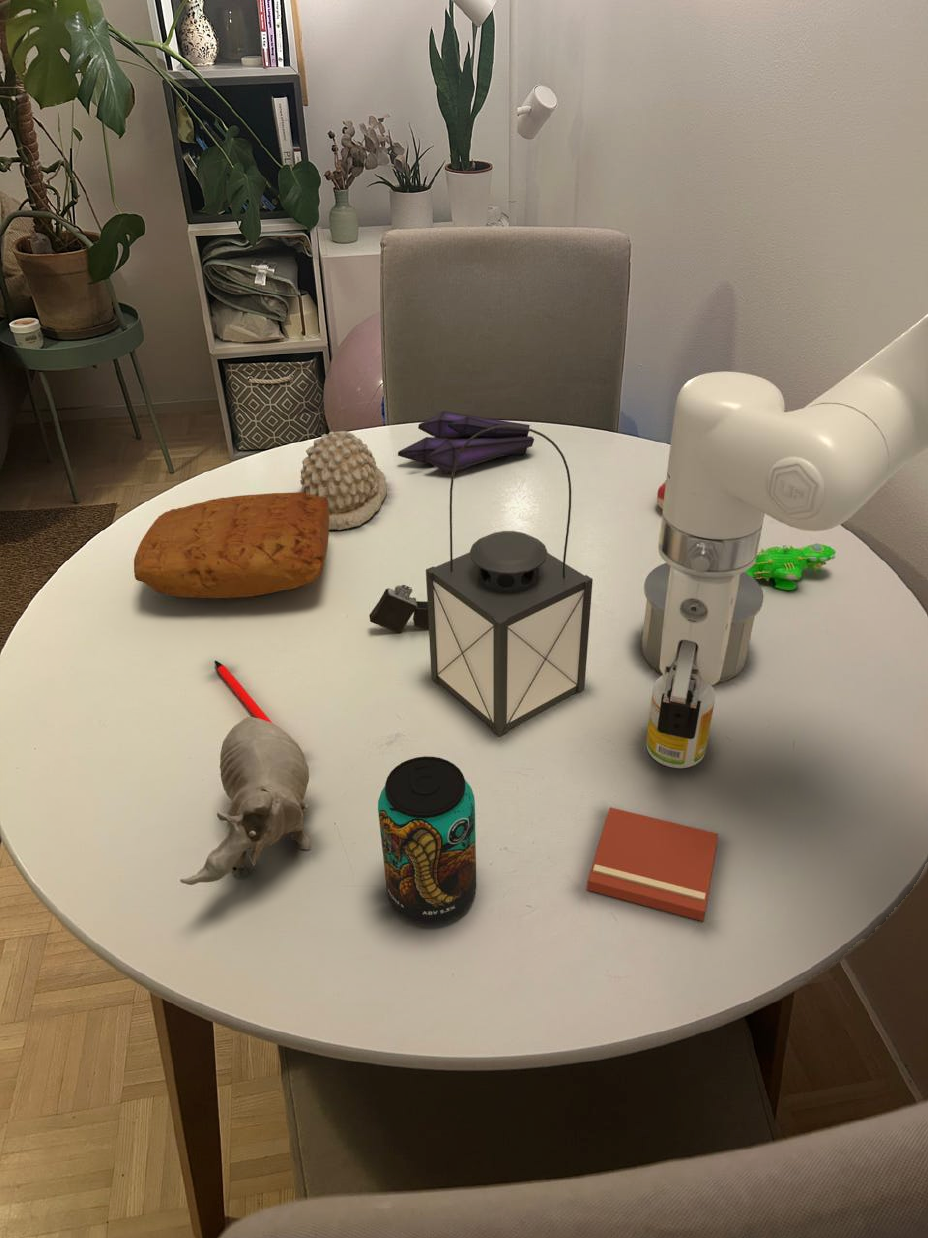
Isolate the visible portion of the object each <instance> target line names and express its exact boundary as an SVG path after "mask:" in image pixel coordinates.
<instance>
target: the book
mask: <svg viewBox="0 0 928 1238" xmlns="http://www.w3.org/2000/svg"><path fill="white" fill-rule="evenodd" d="M718 839H719V833H718V832H717V833H716V832H713V831H709V830H705V829H701V828H697V827H693V826H688V825H685V824H680V823H676V822H672V821H667V820H665V819H659V818H654V817H651V816H647V815H642V814H639V813H635V812H630V811H626V810H624V809H623V810H622V809H619V808H616V807H615V808H614V807H609V809H608V812H607V816H606V818H605V822H604V826H603V828H602V832H601V835H600V838H599V842H598V845H597V847H596V848H597V849H596V851H595V855H594V859H593V862H592V864H591V869H590V871H589V875H588V879H587V885H586V890H587V891H589V892H593V893H597V894H599V895H605V896H608V897H612V898H615V899H619V900H623V901H627V902H630V903H634V904H637V905H641V906H645V907H649V908H653V909H656V910H660V911H664V912H667V913H671V914H675V915H678V916H681V917H685V918H689V919H693V920H696V921H700V922H704V920H705V915H706V911H707V904H708V898H709V892H710V886H711V881H712V880H711V878H712V874H713V868H714V863H715V856H716V850H717V845H718Z"/></svg>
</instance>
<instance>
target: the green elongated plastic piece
mask: <svg viewBox="0 0 928 1238" xmlns="http://www.w3.org/2000/svg"><path fill="white" fill-rule="evenodd" d="M835 558H836V549H834V548H832V547H830V546H829V545H825V544H822V543H817V542H816V543H811V544H809V545H807V546H802V547H800V548H799V547H798V548H795V547H794V546H793V545H790V546H789V547H788V545H782V547H780V546H772V547H768V548H766V549H764V548H761V549H760V551H759V552H758V551H757V556H756V561H755V563H754V565H753V566H752V567H751V568H750V569H749V570H747V571H745V572H746V573H747V574H749V575H750V576H751V577H753V578H754V579H755V580H757V579H758V580H760V579H765V580H766V581H767V582H769V581H770V579H772V578H773V579H774V582H775V586H774V588H777V589H780V590H784V591H793V590H795V589H796V588H797V586H798V585H797V583H796V581H798V580H799V581H800V579H801V578H802V575H803V572H804V571H805V570H806V568H808V569H810V570H812V571H813V572H814V573H820V572H821V571H822V570H819V569H820V568H822V567H823V566H826V565H827V562H829V561H831V560H834V559H835ZM821 573H822V572H821Z"/></svg>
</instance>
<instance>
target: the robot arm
mask: <svg viewBox="0 0 928 1238" xmlns="http://www.w3.org/2000/svg"><path fill="white" fill-rule="evenodd" d="M675 400H676V401H675V406H674V413H673V419H672V429H671V436H670V437H671V438H670V445H669V453H668V461H667V470H666V477H665V481H666V486H665V495H664V503H663V509H662V511H661V519H660V520H661V521H660V528H659V536H658V545H657V550H658V551H657V552H658V554H659V556H660V558H661V560H663V561H664V563H667V564H669V565H670V566H671V567H670V574H669V581H668V589H667V597H666V605H665V613H664V623H663V632H662V642H661V655H660V670H661V672H662V673H663V674H664V675H666V673H668V676H667V682H666V687H665V693H664V694H662V699H661V706H660V713H659V720H658V728H657V730H658V731H659V732H660V733H664V734H669V735H673V736H678V737H683V738H687V739H693V738H694V737H695V733H696V727H697V722H698V716H699V710H700V704H701V701H698V697H699V692H700V686H701V681H702V682H703V683H709V684H710V685H712V686H714V685H716V684H715V683H717V682H718V681H719V680H720V676H721V672H722V668H723V663H724V658H725V653H726V649H727V644H728V639H729V634H730V629H731V623H732V619H733V613H734V608H735V602H736V597H737V591H738V585H739V579H740V574H741V573H743V572H745V571H747V570H749V569H750V568H751V567H752V566H753V565H754V563H755V561H756V556H757V554H758V551H759V546H760V540H761V535H762V530H763V524H764V520H765V519H764V518H765V515H766V516H768V517H771V518H772V519H773V520H775V521H777V522H780V523H782V524H784V525H786V526H788V527H790V528H794V529H797V530H801V531H807V532H823V531H827V530H831V529H834V528H836V527H838V526H841V525H842V524H844V523H845V522H847V521H848V520H849V519H851V518H852V517H853V516H854V515H855V514H856V513H857V512H858V511H859V510H860V509H861V508H863V506H864V505H866V503H867V502H869V500H870V499H871V498H873V497H874V495H875V494H876V493H877V492H878V491H879V490H880V489H881V488H882V487H883V486H885V484H886V483H887V482H888V481H889V480H890V479H891V478H892V477H893V476H894V475H895V474H896V473H898V472H899V470H901V469H902V468H903V467H904V466H905V465H906V464H907V463H909V462H911V460H914V458H916V457H917V456H919V455H920V454H921V453H923V452H925V451H926V450H927V449H928V313H927V314H926V315H925V316H924V317H922V318H921V319H919V321H917V322H916V323H915V324H913V325H912V326H911V327H910V328H909V329H907V330H906V331H905V332H903V333H901V334H900V336H898V337H897V338H896V339H894V340H893V341H892V342H890V343H889V344H888V345H886V346H885V347H884V348H882V350H881V349H880V351H879V352H877V353H876V354H875V355H873V356H872V357H871V358H869V359H868V360H867V361H865V362H864V363H863V364H862V365H860V366H859V367H857V368H856V369H855V370H854V371H852V372H851V373H850V374H848V375H847V376H845V378H843V379H841V380H840V381H839V382H837V383H836V384H835V385H833V386H832V387H831V388H829V389H828V390H826V391H825V392H824V393H823V394H821V395H819V396H818V397H816V398H815V399H814V400H812V401H811V402H810V403H808V404H807V405H806V406H804V407H803V408H799V409H795V410H791V411H785V410H786V409H785V408H786V406H785V405H786V404H785V400H784V396H783V393H782V392H781V390H780V389H779V388H778V387H777V386H776V385H775V384H774V383H773V382H771V381H769V380H768V379H765V378H763V377H761V376H758V375H754V374H750V373H744V372H738V371H713V372H706V373H703V374H699V375H697V376H695V377H693V378H691V379H689V380H687V382H686V383H684V385H683V386H682V387H681V388H680V390H679V392H678V394H677V397H676V399H675ZM675 661H677V665H675ZM693 664H694V665H697V668H698V670H697V669H693ZM690 680H695V681H694V687H693V692H692V691H690V690H689V684H690ZM717 684H718V683H717Z"/></svg>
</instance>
